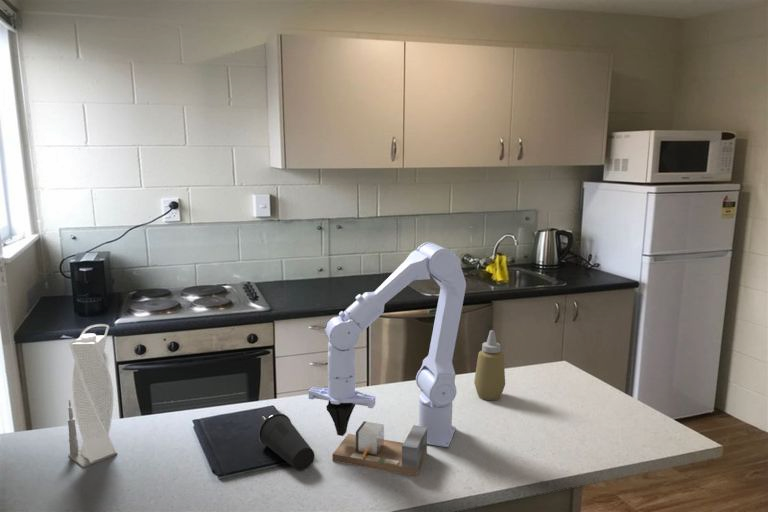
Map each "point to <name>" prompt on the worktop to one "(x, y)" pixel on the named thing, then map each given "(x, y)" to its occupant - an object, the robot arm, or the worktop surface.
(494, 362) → the squeeze bottle
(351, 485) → the worktop surface
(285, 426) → the drinking cup
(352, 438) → the gauge board
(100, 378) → the skyscraper
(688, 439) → the worktop surface
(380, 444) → the gauge carriage
